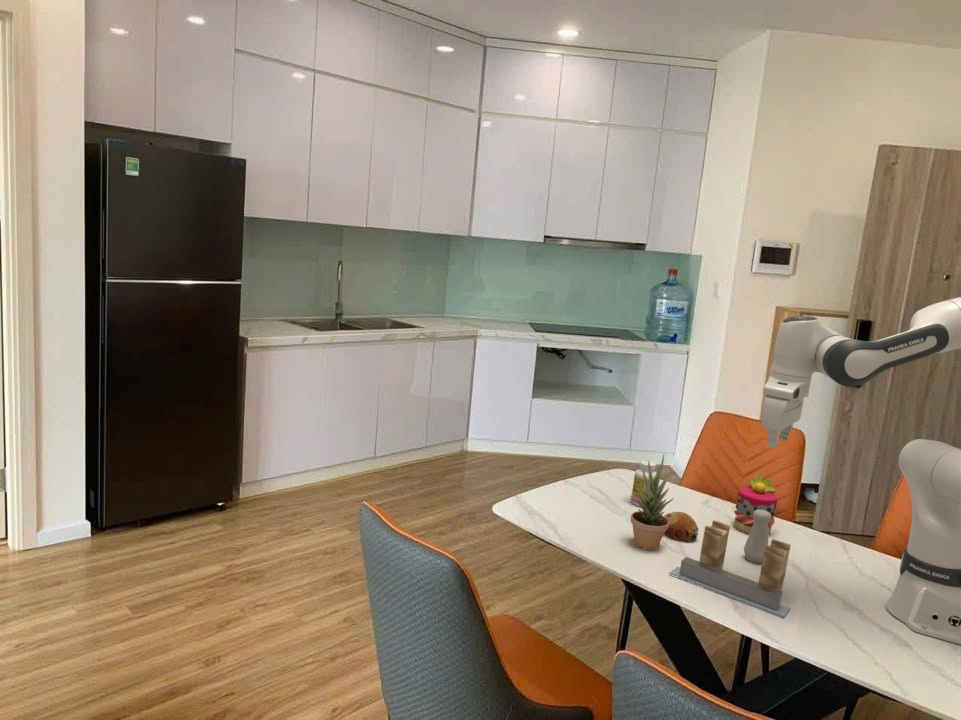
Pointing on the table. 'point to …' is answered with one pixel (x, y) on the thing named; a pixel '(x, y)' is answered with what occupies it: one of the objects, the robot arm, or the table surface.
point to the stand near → (774, 564)
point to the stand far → (714, 544)
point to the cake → (754, 504)
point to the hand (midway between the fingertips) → (778, 443)
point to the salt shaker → (757, 537)
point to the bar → (731, 583)
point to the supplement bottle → (641, 480)
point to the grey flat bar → (779, 612)
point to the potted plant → (650, 512)
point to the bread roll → (681, 527)
